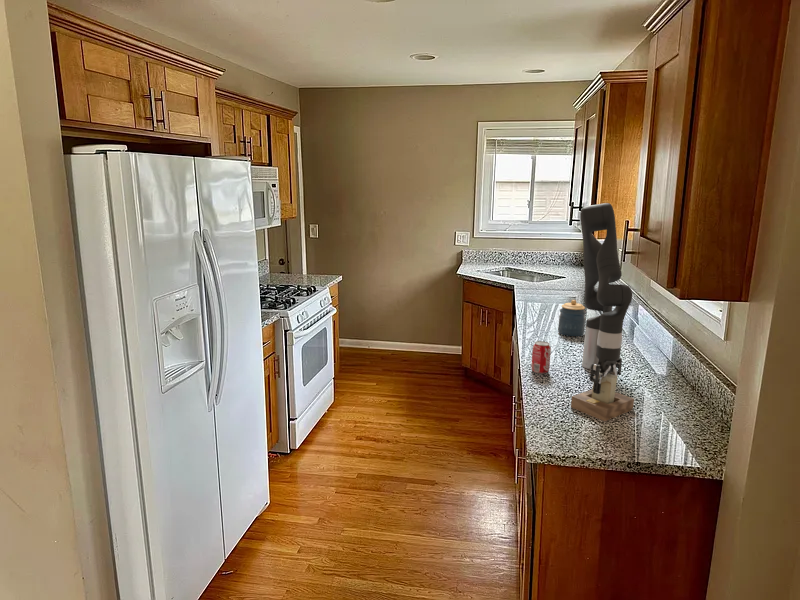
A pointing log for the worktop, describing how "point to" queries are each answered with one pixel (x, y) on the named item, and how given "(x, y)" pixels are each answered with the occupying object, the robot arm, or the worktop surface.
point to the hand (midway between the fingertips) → (603, 390)
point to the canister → (572, 319)
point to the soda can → (541, 357)
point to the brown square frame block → (602, 405)
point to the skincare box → (606, 389)
